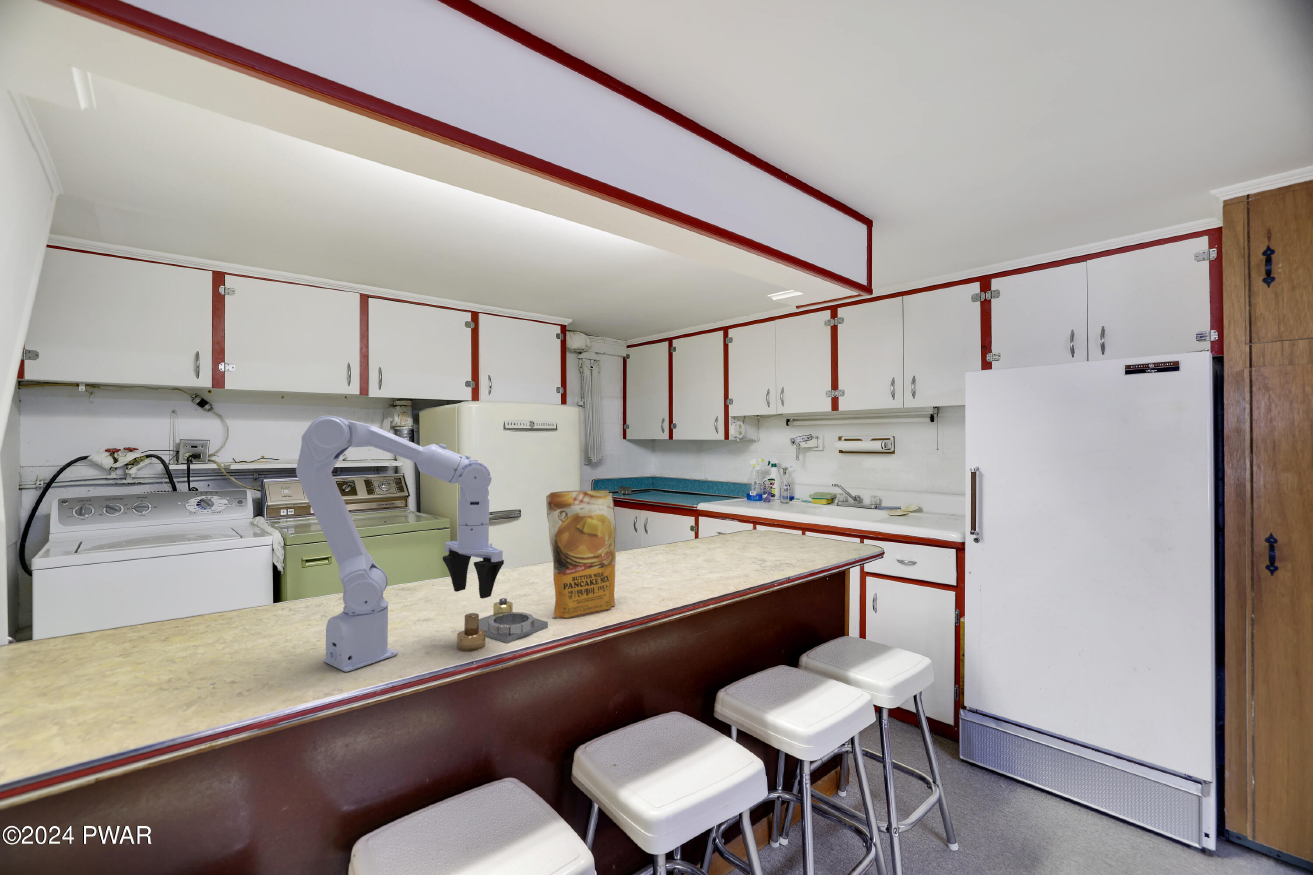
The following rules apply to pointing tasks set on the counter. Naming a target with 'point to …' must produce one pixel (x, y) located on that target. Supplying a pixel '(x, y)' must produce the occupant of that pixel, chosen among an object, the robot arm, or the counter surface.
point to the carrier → (509, 623)
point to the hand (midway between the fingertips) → (472, 593)
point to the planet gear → (471, 634)
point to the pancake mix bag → (582, 551)
